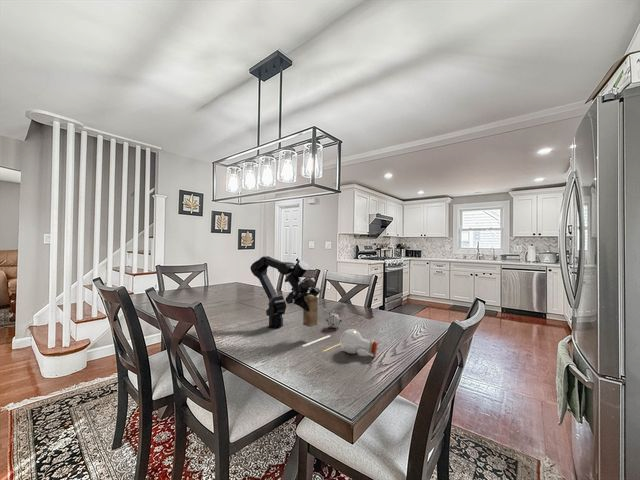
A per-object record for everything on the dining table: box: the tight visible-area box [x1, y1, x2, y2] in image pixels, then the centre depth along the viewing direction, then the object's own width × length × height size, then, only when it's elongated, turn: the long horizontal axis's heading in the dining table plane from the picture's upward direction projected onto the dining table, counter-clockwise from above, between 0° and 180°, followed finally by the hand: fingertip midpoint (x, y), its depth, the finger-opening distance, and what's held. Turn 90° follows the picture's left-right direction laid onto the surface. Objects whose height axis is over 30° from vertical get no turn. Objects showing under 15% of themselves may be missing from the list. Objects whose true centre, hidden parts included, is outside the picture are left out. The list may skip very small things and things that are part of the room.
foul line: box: [301, 334, 331, 348], centre depth 123 cm, size 18×2×1 cm, turn 138°
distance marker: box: [322, 342, 341, 353], centre depth 116 cm, size 14×1×1 cm, turn 138°
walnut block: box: [302, 295, 318, 328], centre depth 126 cm, size 5×5×14 cm
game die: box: [325, 311, 342, 330], centre depth 141 cm, size 9×8×10 cm
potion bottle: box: [339, 328, 379, 357], centre depth 109 cm, size 9×10×15 cm
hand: (312, 310), depth 125 cm, fingers closed on walnut block, 5 cm apart
